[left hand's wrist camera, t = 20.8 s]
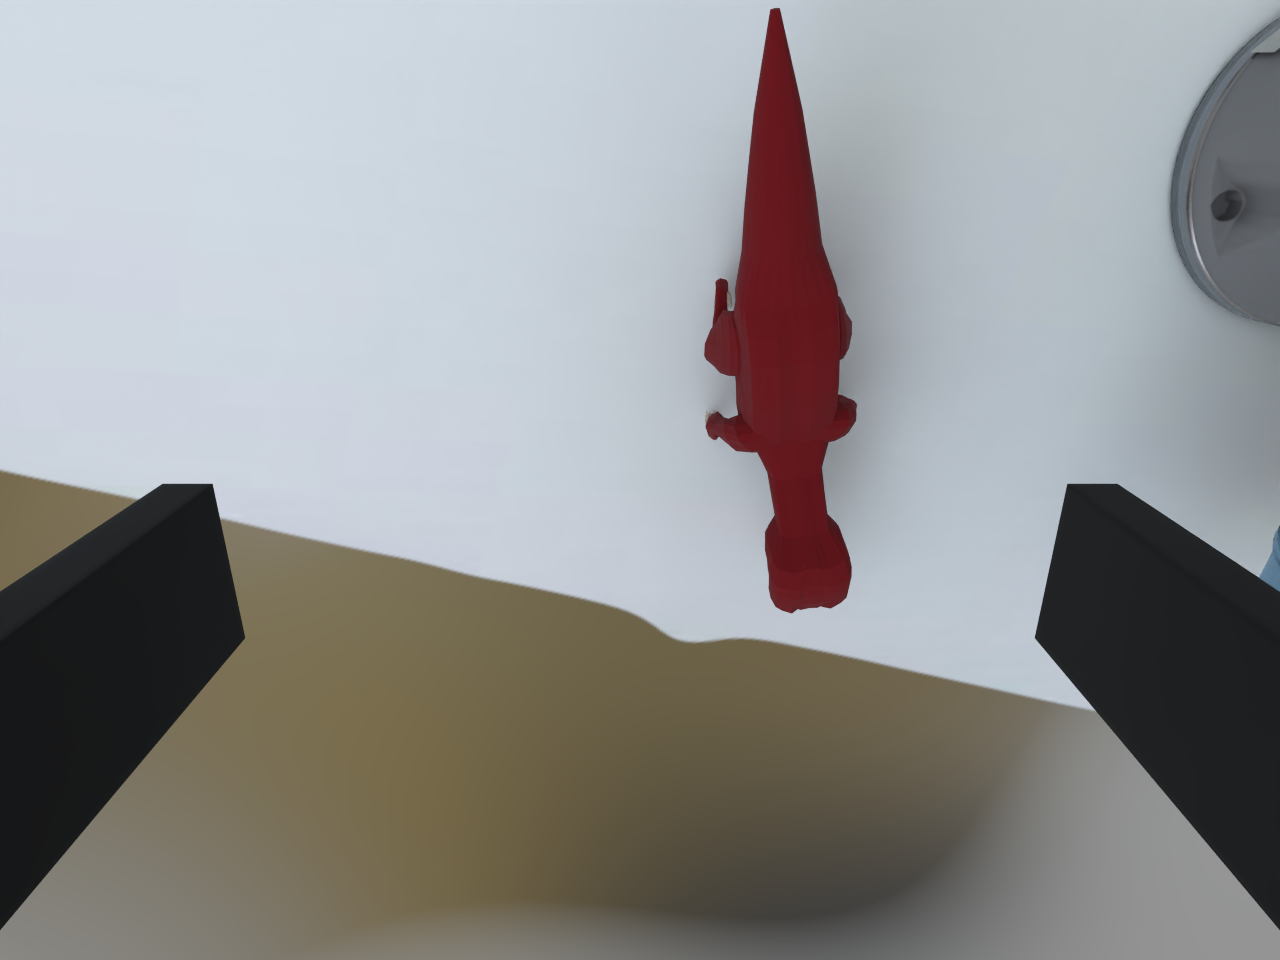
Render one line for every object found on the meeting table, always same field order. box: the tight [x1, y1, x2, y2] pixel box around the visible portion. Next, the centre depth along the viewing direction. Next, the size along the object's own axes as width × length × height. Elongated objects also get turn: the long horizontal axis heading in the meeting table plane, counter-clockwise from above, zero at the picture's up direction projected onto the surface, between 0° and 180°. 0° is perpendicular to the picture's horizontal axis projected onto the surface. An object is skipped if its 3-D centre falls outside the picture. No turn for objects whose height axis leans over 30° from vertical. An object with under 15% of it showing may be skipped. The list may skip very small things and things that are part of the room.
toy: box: [704, 8, 857, 613], centre depth 36 cm, size 7×27×11 cm, turn 9°
